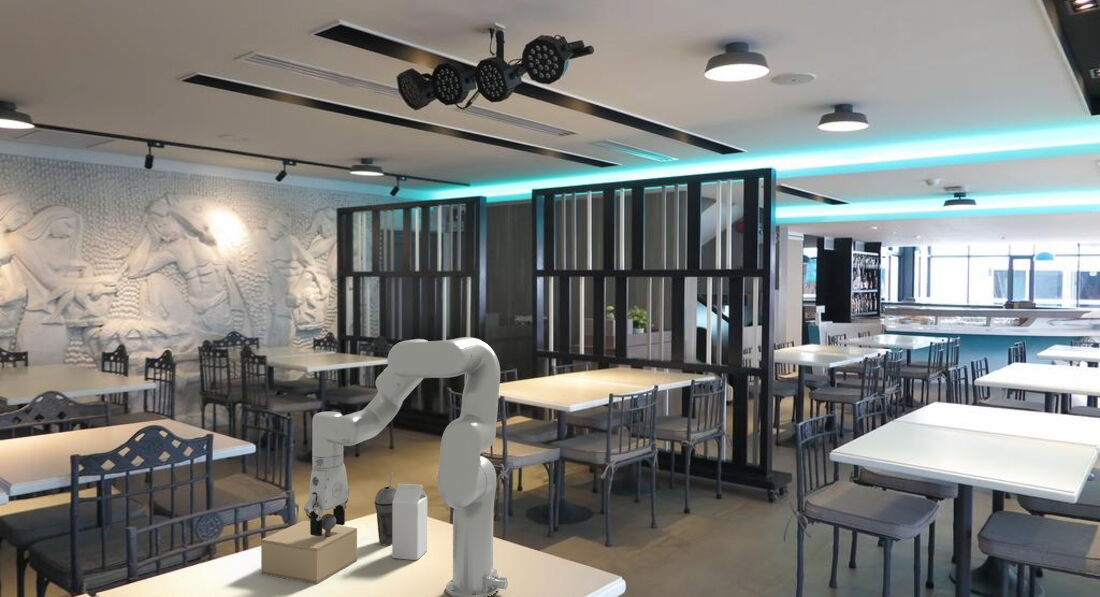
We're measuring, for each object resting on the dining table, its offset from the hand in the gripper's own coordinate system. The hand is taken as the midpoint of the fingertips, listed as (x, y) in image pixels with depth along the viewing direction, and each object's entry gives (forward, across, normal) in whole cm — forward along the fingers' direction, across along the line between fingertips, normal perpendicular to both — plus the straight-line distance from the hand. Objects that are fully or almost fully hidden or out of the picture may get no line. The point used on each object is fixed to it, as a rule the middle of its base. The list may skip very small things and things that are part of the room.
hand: (327, 529), depth 186 cm
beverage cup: (+11, +23, -2) cm, 25 cm away
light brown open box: (+10, 0, +6) cm, 12 cm away
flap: (+2, 0, +6) cm, 6 cm away
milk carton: (+11, +17, -14) cm, 24 cm away
